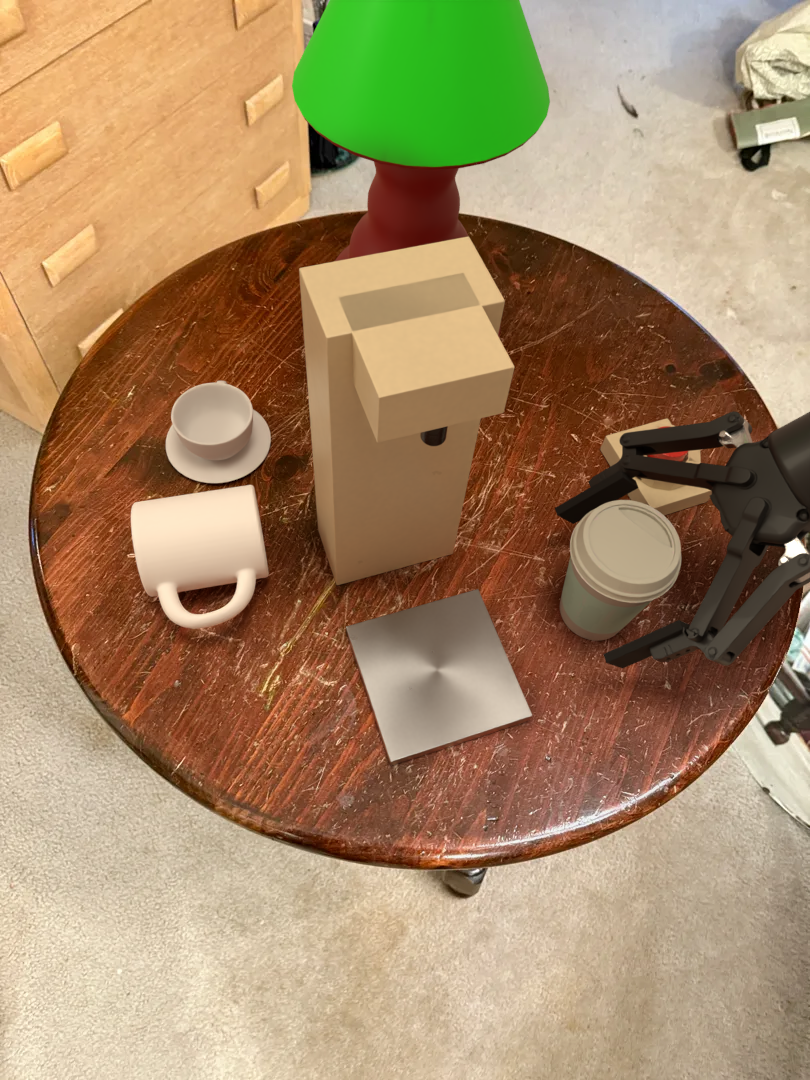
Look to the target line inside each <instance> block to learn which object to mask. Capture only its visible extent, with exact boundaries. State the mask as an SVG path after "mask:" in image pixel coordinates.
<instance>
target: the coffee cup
mask: <svg viewBox="0 0 810 1080" xmlns="http://www.w3.org/2000/svg"><path fill="white" fill-rule="evenodd" d="M680 539H681V538H680V537H679V534H678V532H677V530H676V528H675V526H674V524H673V523H672V522H671V520H669V519H668V518H667V517H666V515H663V514H662V513H660V512H659V511H657V510H656V509H654V508H652V507H651V506H648V505H646V504H644V503H641V502H637V501H631V499H618V500H615V501H611V502H607V503H605V504H602V505H601V506H599V507H597V508H596V509H594V510H592V511H590V512H589V513H587V514H586V515H585V516H584V517H583V518H582V519H581V520H580V521H578V522H577V523H576V525H575V526H574V528H573V530H572V533H571V536H570V541H569V552H570V556H569V560H568V565H567V569H566V574H565V578H564V583H563V586H562V591H561V596H560V601H559V612H560V616H561V619H562V620H563V622H564V624H565V625H566V627H567V628H568V629H569V630H570V631H571V632H573V633H574V634H575V635H577V636H578V637H580V638H583V639H585V640H590V641H596V642H597V641H598V642H599V641H605V640H608V639H611V638H613V637H614V636H616V635H617V634H618V633H619V632H621V630H623V629H624V628H625V627H626V626H627V625H628V624H629V623H631V621H632V620H634V619H635V618H636V617H637V615H639V614H640V613H641V612H642V611H643V610H644V609H645V608H646V607H648V605H650V604H651V603H652V601H654V600H656V599H658V598H660V597H662V596H663V595H664V594H666V593H667V592H668V591H670V589H671V588H672V587H673V586H674V584H675V583H676V581H677V579H678V576H679V573H680V570H681V566H682V545H681V540H680Z"/></svg>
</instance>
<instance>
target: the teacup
mask: <svg viewBox="0 0 810 1080" xmlns="http://www.w3.org/2000/svg"><path fill="white" fill-rule="evenodd" d="M253 408H254V407H253V404H252V402H251V400H250V398H249V396H248V395H247V394H246V393H245V392H244V391H243V390H241V389H240V388H238V387H237V386H234V385H232V384H229V383H228V382H227V381H226V380H216V382H205V383H202V384H198V385H195V386H193V387H191V388H188V389H187V390H185V392H183V393H182V394H181V395H180V396H179V397H177V399H176V400H175V402H174V404H173V406H172V408H171V412H170V419H171V420H170V421H171V426H170V428H169V429H168V431H167V434H166V438H165V452H166V456H167V459H168V461H169V462H170V464H171V465H172V466H173V468H174V469H175V470H176V471H177V472H179V473H180V474H182V475H183V476H184V477H186V478H189V479H191V480H193V481H196V482H200V483H206V484H223V483H229V482H232V481H235V480H236V481H237V480H238V479H241V478H244V477H245V476H247V475H249V474H251V473H252V472H253V471H254V470H256V469H257V468H258V467H259V466H260V465H261V464H262V463H263V462H264V460H265V459H266V457H267V455H268V453H269V450H270V448H271V441H272V437H271V430H270V427H269V425H268V423H267V421H266V419H264V417H263V415H261V414H260V413H259V412H258V411H256V410H255V409H253Z"/></svg>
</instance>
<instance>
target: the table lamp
mask: <svg viewBox="0 0 810 1080" xmlns="http://www.w3.org/2000/svg"><path fill="white" fill-rule="evenodd" d="M527 22H528V21H527V19H526V16H525V13H524V10H523V7H522V3H521V0H328V2H327V5H326V6H325V8H324V11H323V13H322V14H321V16H320V19H319V21H318V23H317V25H316V27H315V29H314V31H313V33H312V35H311V37H310V39H309V41H308V42H307V45H306V47H305V49H304V50H303V53H302V55H301V58H300V59H299V61H298V63H297V65H296V67H295V69H294V71H293V77H292V82H291V87H292V88H291V89H292V93H293V98H294V103H295V104H296V105H297V107H298V109H299V112H300V114H301V115H302V117H303V119H304V120H305V121H306V122H307V123H308V124H309V126H310V127H312V129H313V130H314V131H315V132H316V133H317V134H318V135H320V136H321V137H322V138H324V139H325V140H327V141H328V142H329V143H331V145H333V146H335V147H337V148H340V149H341V150H343V151H345V152H348V153H350V154H351V155H353V156H356V157H358V158H361V159H365V160H368V161H371V162H373V164H374V168H375V173H374V177H373V178H372V181H371V183H370V186H369V189H368V192H367V201H366V202H367V203H366V204H367V212H366V213H365V214H364V215H363V216H361V218H360V220H359V221H358V222H357V223H356V225H355V226H354V228H353V231H352V233H351V236H350V240H349V245H347V246H346V247H345V248H344V249H343V250H342V251H341V252H340V253H339V254H338V256H337V257H336V258H335V260H334V261H333V262H335V261H340V260H345V259H351V258H356V257H361V256H367V255H372V254H377V253H383V252H388V251H394V250H399V249H404V248H410V247H415V246H420V245H426V244H431V243H436V242H442V241H447V240H452V239H458V238H463V237H469V234H468V232H467V230H466V228H465V227H464V225H463V224H462V222H461V221H460V220H459V214H460V209H461V197H460V192H459V188H458V185H457V181H456V178H457V174H458V171H459V169H465V168H468V167H473V166H479V165H483V164H486V163H490V162H492V161H495V160H497V159H500V158H503V157H505V156H508V155H509V154H511V153H512V152H514V151H516V150H517V149H519V148H521V147H523V146H524V145H525V144H526V143H527V142H528V141H529V140H530V139H532V137H534V136H535V134H537V132H538V131H539V130H540V128H541V126H542V125H543V123H544V121H545V120H546V118H547V116H548V112H549V108H550V104H551V100H550V92H549V85H548V82H547V79H546V77H545V74H544V71H543V68H542V64H541V61H540V58H539V55H538V53H537V49H536V47H535V43H534V40H533V37H532V34H531V31H530V29H529V25H528V23H527ZM498 337H499V338H500V337H501V327H500V328H499V333H498Z"/></svg>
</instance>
